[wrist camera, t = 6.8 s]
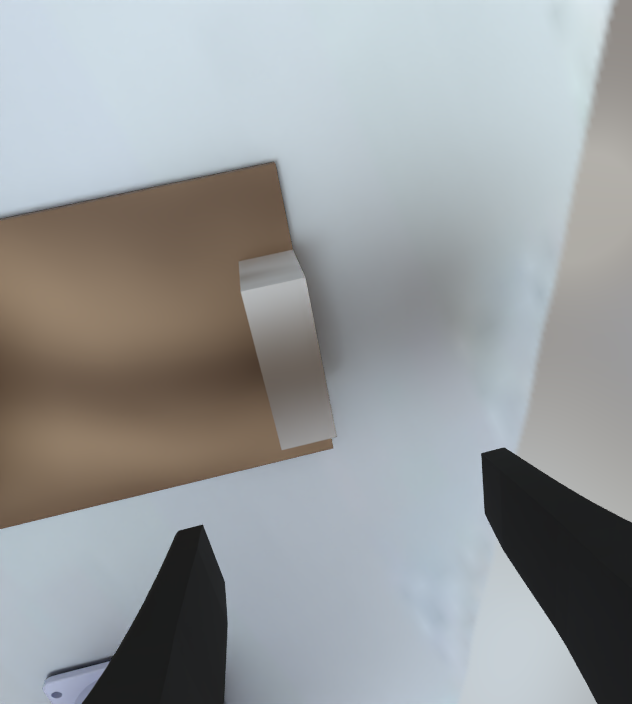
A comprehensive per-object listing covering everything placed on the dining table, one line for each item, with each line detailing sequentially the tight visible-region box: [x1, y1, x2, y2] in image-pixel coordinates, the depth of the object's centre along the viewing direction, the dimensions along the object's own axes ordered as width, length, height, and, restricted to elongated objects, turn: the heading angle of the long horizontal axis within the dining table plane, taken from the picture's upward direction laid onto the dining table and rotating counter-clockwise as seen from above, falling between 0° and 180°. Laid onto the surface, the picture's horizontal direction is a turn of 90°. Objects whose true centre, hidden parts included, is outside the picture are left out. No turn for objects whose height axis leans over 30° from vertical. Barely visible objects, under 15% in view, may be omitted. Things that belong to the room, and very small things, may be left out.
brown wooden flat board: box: [0, 162, 337, 529], centre depth 18 cm, size 12×22×4 cm, turn 100°
